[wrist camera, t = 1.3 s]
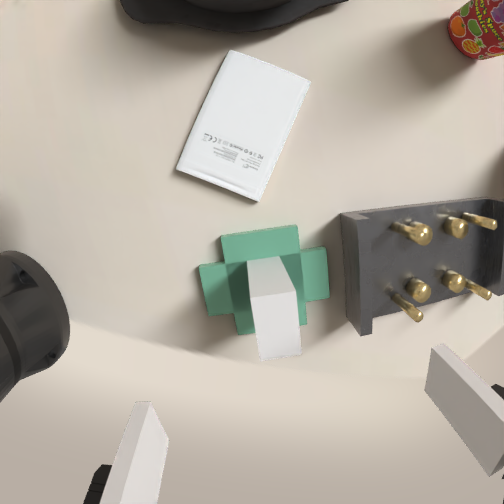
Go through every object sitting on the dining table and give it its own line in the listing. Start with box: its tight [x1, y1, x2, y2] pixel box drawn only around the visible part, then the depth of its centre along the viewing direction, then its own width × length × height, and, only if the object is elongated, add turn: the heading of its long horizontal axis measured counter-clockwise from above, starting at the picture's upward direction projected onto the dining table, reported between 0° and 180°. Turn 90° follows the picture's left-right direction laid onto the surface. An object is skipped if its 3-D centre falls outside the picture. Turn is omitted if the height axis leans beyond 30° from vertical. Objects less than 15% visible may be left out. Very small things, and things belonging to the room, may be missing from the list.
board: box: [199, 225, 330, 361], centre depth 26 cm, size 12×10×10 cm
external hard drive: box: [176, 50, 311, 202], centre depth 27 cm, size 2×8×12 cm
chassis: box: [340, 197, 504, 336], centre depth 28 cm, size 20×11×6 cm, turn 98°
